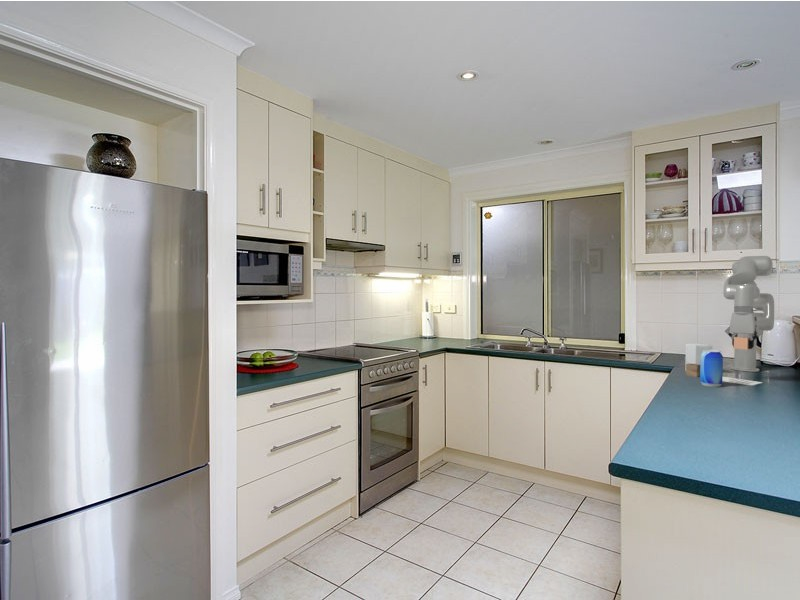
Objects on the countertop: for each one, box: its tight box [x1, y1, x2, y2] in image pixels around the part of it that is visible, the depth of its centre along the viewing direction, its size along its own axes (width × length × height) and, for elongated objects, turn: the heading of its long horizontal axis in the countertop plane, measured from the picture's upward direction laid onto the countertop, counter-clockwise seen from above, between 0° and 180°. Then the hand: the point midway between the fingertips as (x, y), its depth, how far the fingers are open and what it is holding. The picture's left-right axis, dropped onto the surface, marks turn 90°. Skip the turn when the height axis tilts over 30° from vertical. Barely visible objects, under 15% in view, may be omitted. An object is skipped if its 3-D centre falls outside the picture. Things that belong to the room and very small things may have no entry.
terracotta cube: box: [733, 337, 750, 350], centre depth 218 cm, size 6×6×6 cm
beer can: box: [699, 349, 724, 388], centre depth 208 cm, size 8×8×16 cm
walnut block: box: [685, 364, 700, 378], centre depth 230 cm, size 5×5×6 cm
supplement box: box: [684, 343, 713, 372], centre depth 240 cm, size 9×9×15 cm
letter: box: [722, 376, 763, 386], centre depth 218 cm, size 13×17×1 cm
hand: (742, 347), depth 218 cm, fingers closed on terracotta cube, 5 cm apart
